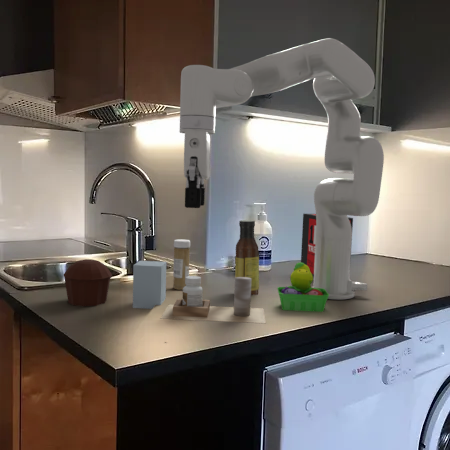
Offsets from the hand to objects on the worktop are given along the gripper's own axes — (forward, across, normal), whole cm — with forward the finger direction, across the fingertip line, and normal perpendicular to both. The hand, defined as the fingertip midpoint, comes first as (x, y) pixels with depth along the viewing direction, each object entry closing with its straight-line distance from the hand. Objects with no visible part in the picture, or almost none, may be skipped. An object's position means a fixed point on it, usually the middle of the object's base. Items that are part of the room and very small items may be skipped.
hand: (194, 206), depth 110 cm
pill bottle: (+24, 0, 0) cm, 24 cm away
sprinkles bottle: (+24, +28, +6) cm, 38 cm away
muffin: (+25, +9, +26) cm, 37 cm away
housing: (+24, +8, +11) cm, 28 cm away
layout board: (+24, 0, -5) cm, 25 cm away
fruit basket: (+25, +9, -25) cm, 36 cm away
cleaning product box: (+25, +53, -37) cm, 69 cm away
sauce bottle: (+24, +23, -12) cm, 36 cm away
